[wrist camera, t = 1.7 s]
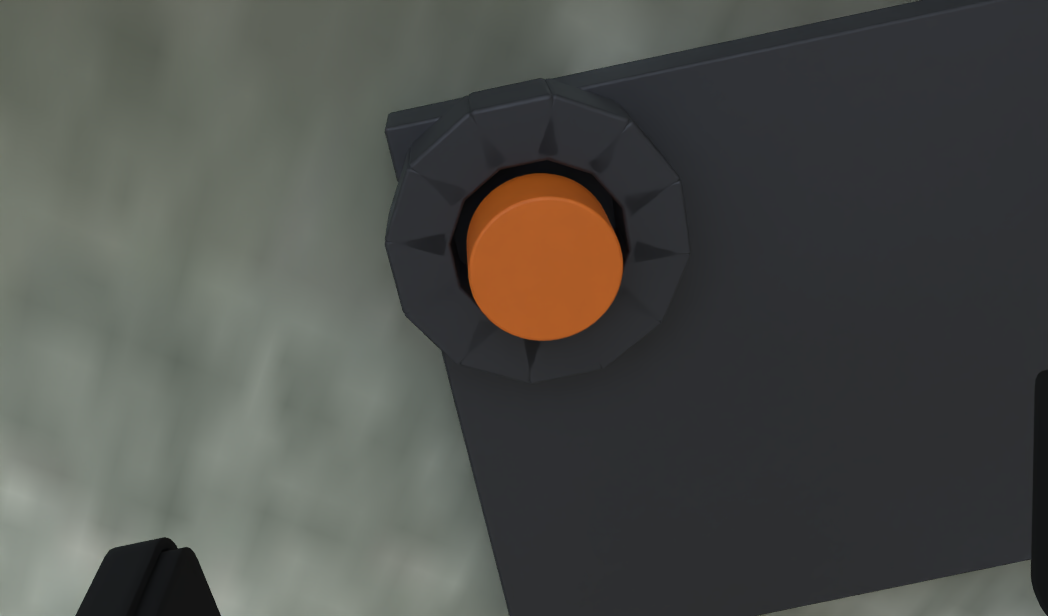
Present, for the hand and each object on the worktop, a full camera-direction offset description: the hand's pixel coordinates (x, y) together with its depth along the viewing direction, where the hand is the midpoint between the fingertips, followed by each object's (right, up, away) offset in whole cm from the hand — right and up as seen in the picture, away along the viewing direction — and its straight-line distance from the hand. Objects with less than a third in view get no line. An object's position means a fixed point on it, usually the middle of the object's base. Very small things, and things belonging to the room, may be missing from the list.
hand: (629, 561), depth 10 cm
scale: (+5, +2, +13) cm, 14 cm away
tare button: (-1, +4, +9) cm, 10 cm away
